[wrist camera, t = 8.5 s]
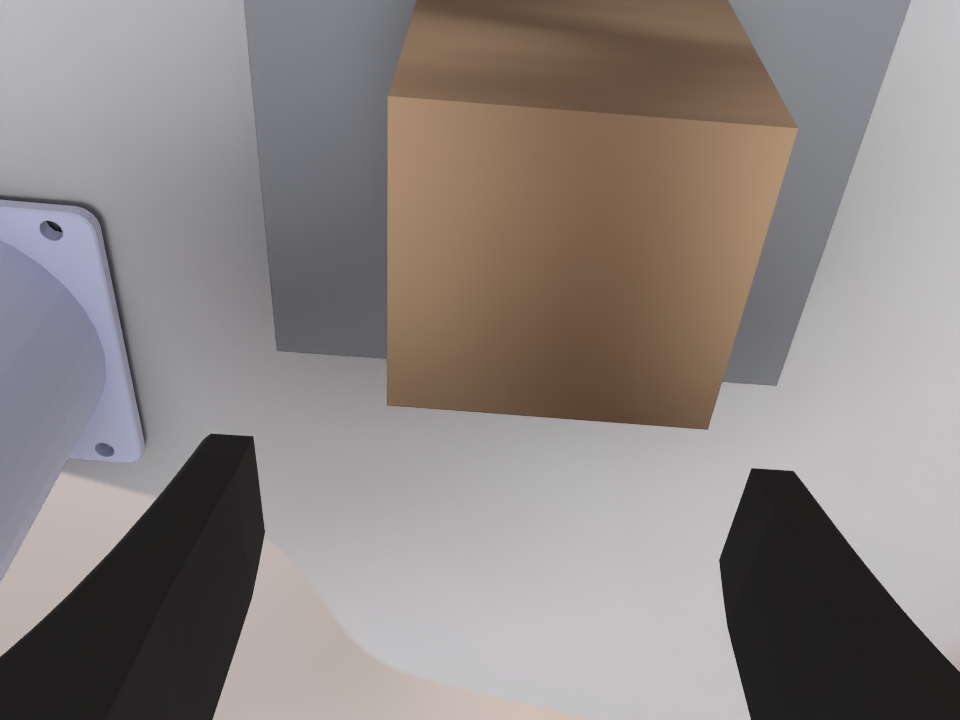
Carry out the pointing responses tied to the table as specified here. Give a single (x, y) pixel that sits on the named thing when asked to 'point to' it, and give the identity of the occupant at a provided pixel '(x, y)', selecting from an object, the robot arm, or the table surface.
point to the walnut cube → (576, 206)
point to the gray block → (364, 159)
